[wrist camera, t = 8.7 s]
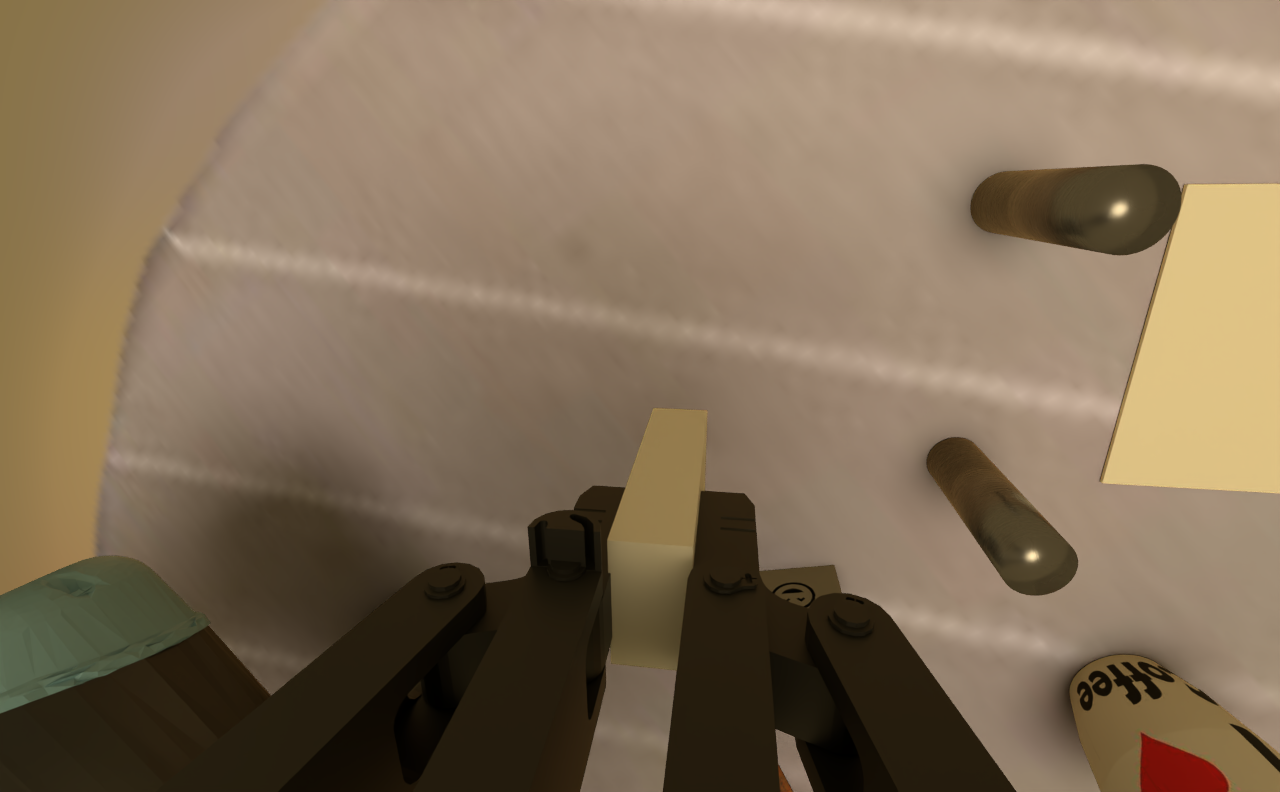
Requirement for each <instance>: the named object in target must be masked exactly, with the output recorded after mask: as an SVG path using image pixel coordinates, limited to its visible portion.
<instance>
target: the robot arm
mask: <svg viewBox="0 0 1280 792" xmlns="http://www.w3.org/2000/svg"><path fill="white" fill-rule="evenodd" d="M706 438H707V410H685V409H663V408H653V411H652V413H651V416H650V419H649V422H648V425H647V428H646V431H645V434H644V436H643V439H642V442H641V445H640V448H639V451H638V454H637V456H636V459H635V462H634V465H633V468H632V471H631V474H630V476H629V479H628V482H627V485H626V488H623V487H608V486H592V487H591V488H590V489H588V490H587V491H586V492H584V493H583V494H582V495H580V497H579V499H578V501H577V503H576V505H575V507H574V510H563V511H556V512H551V513H547V514H545V515H543V516H541V517H539V518H537V519H535V520H534V521H533V522H532V523H531V524H530V525H529V526H528V537H529V549H530V561H531V567H530V569H529V571H528V573H527V574H526V576H524V577H521V578H518V579H513V580H508V581H501V582H493V583H486V584H485V579H484V575H483V574H482V572H481V571H480V569H479V568H477V567H475V566H472V565H470V564H465V563H449V564H442V565H439V566H436V567H433V568H430V569H427V570H426V571H424V572H422V573H421V574H419V575H418V576H416V577H415V578H414V579H412V580H411V581H410V582H409V583H407V584H406V585H405V586H404V587H403V588H401V589H400V590H399V591H398V592H397V593H395V594H394V595H393V596H392V597H390V598H389V599H388V600H387V601H386V602H384V603H383V604H382V605H381V606H380V607H378V608H377V609H376V610H375V611H374V612H372V613H371V614H370V615H369V616H367V617H366V618H365V619H364V620H363V621H361V622H360V623H359V624H358V625H357V626H355V627H354V628H353V629H352V630H350V631H349V632H348V633H347V634H346V635H344V636H343V637H342V638H341V639H340V640H338V641H337V642H336V643H335V644H333V645H332V646H331V647H330V648H329V649H327V650H326V651H325V652H324V653H323V654H321V655H320V656H319V657H318V658H317V659H315V660H314V661H313V662H312V663H310V664H309V665H308V666H307V667H306V668H304V669H303V670H302V671H301V672H300V673H298V674H297V675H296V676H295V677H293V678H292V679H291V680H290V681H289V682H287V683H286V684H285V685H284V686H283V687H281V688H280V689H279V690H278V691H277V692H275V693H274V694H273V695H272V696H271V695H270V694H269V693H268V692H267V690H266V689H265V688H264V687H263V686H262V685H261V684H260V683H259V682H258V680H257V679H256V678H255V677H254V676H253V675H252V674H251V673H250V671H249V670H248V669H247V668H246V667H245V666H244V665H243V664H242V662H241V661H240V660H239V659H238V658H237V657H236V656H235V655H234V654H233V652H232V651H231V650H230V649H229V648H228V647H227V646H226V645H225V643H224V642H223V641H222V640H221V639H220V638H219V637H218V636H217V634H216V633H215V632H214V631H213V630H212V629H211V628H210V627H209V626H208V625H209V624H210V621H209V620H208V619H207V618H206V616H205V615H204V614H203V613H200V612H194V611H193V610H192V609H191V608H190V607H189V606H188V605H187V604H186V603H185V602H184V601H183V600H182V599H181V598H180V597H179V596H178V595H177V594H176V593H175V592H174V591H173V590H172V589H171V588H170V587H169V586H168V585H167V584H166V583H165V582H164V581H163V580H162V579H161V578H160V577H159V576H158V575H157V574H156V573H155V572H154V571H153V570H152V569H151V568H150V567H148V566H147V565H145V564H144V563H142V562H140V561H138V560H136V559H133V558H129V557H123V556H99V557H93V558H89V559H85V560H82V561H79V562H77V563H74V564H72V565H69V566H66V567H64V568H62V569H59V570H57V571H55V572H52V573H50V574H47V575H45V576H43V577H41V578H38V579H36V580H34V581H32V582H29V583H27V584H25V585H23V586H20V587H18V588H16V589H14V590H11V591H9V592H7V593H5V594H3V595H0V792H580V789H581V785H582V781H583V777H584V773H585V769H586V765H587V761H588V757H589V753H590V749H591V744H592V740H593V736H594V732H595V728H596V724H597V720H598V716H599V712H600V708H601V704H602V700H603V696H604V692H605V688H606V664H605V663H606V659H607V655H608V652H609V648H610V649H611V664H620V665H629V666H639V667H648V668H658V669H667V670H677V674H676V683H675V691H674V700H673V709H672V717H671V726H670V735H669V743H668V752H667V761H666V769H665V778H664V787H663V792H780V783H779V770H778V757H777V744H776V732H775V729H777V730H779V731H782V732H784V733H787V734H789V735H792V736H794V737H795V740H796V747H797V750H798V752H799V755H800V758H801V760H802V763H803V765H804V768H805V771H806V773H807V776H808V778H809V781H810V784H811V786H812V789H813V791H814V792H1016V790H1015V789H1014V788H1013V786H1012V785H1011V783H1010V782H1009V781H1008V779H1007V778H1006V776H1005V775H1004V774H1003V772H1002V771H1001V769H1000V768H999V767H998V765H997V764H996V763H995V761H994V760H993V758H992V757H991V756H990V754H989V753H988V751H987V750H986V749H985V747H984V746H983V744H982V743H981V742H980V740H979V739H978V737H977V736H976V735H975V733H974V732H973V730H972V729H971V728H970V726H969V725H968V724H967V722H966V721H965V719H964V718H963V717H962V715H961V714H960V712H959V711H958V710H957V708H956V707H955V705H954V704H953V703H952V701H951V700H950V698H949V697H948V696H947V694H946V693H945V692H944V690H943V689H942V687H941V686H940V685H939V683H938V682H937V680H936V679H935V678H934V676H933V675H932V673H931V672H930V671H929V669H928V668H927V666H926V665H925V664H924V662H923V661H922V659H921V658H920V657H919V655H918V654H917V653H916V651H915V650H914V648H913V647H912V646H911V644H910V643H909V641H908V640H907V639H906V637H905V636H904V634H903V633H902V632H901V630H900V629H899V627H898V626H897V625H896V623H895V622H894V621H893V619H892V618H891V617H890V616H889V615H888V614H887V613H886V612H885V611H884V610H883V609H882V608H881V607H880V606H879V605H877V604H875V603H873V602H871V601H870V600H868V599H866V598H863V597H859V596H856V595H852V594H846V593H831V594H826V595H822V596H820V597H818V598H817V599H815V600H814V601H812V602H811V604H810V607H809V608H806V607H803V606H800V605H797V604H794V603H791V602H789V601H786V600H784V599H782V598H780V597H779V596H777V595H775V594H774V593H772V592H771V591H770V590H769V589H768V588H767V587H766V586H765V584H764V583H763V581H762V578H761V576H760V573H759V560H758V547H757V533H756V522H755V506H754V504H753V503H752V502H751V501H750V500H749V498H748V497H747V496H746V495H745V494H743V493H728V492H712V491H705V469H706Z"/></svg>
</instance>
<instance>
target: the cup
mask: <svg viewBox="0 0 1280 792" xmlns="http://www.w3.org/2000/svg"><path fill="white" fill-rule="evenodd" d="M1069 695H1070V700H1071V705H1072V709H1073V713H1074V717H1075V722H1076V726H1077V730H1078V735H1079V739H1080V742H1081V744H1082V747H1083V749H1084V752H1085V754H1086V757H1087V759H1088V761H1089V764H1090V766H1091V769H1092V771H1093V774H1094V776H1095V779H1096V781H1097V784H1098V786H1099V788H1100V791H1101V792H1280V754H1279V753H1278V752H1277V751H1276V750H1275V749H1274V748H1272V747H1271V746H1270V745H1269V744H1267V743H1266V742H1265V741H1264V740H1262V739H1261V738H1260V737H1259V736H1257V735H1256V734H1255V733H1254V732H1252V731H1251V730H1250V729H1249V728H1247V727H1246V726H1245V725H1244V724H1242V723H1241V722H1240V721H1239V720H1237V719H1236V718H1235V717H1234V716H1232V715H1231V714H1230V713H1229V712H1227V711H1226V710H1225V709H1224V708H1222V707H1221V706H1220V705H1219V704H1217V703H1216V702H1215V701H1214V700H1212V699H1211V698H1210V697H1209V696H1207V695H1206V694H1205V693H1203V692H1202V691H1200V690H1199V689H1197V688H1196V687H1194V686H1192V685H1191V684H1189V683H1188V682H1186V681H1184V680H1183V679H1181V678H1180V677H1178V676H1176V675H1175V674H1173V673H1172V672H1170V671H1168V670H1167V669H1165V668H1163V667H1162V666H1160V665H1159V664H1157V663H1155V662H1154V661H1152V660H1150V659H1147V658H1144V657H1141V656H1136V655H1113V656H1108V657H1104V658H1101V659H1098V660H1096V661H1094V662H1092V663H1090V664H1088V665H1087V666H1085V667H1084V668H1082V669H1081V670H1080V671H1079V672H1078V673H1077V674H1076V676H1075V677H1074V679H1073V680H1072V682H1071V685H1070V690H1069Z"/></svg>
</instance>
